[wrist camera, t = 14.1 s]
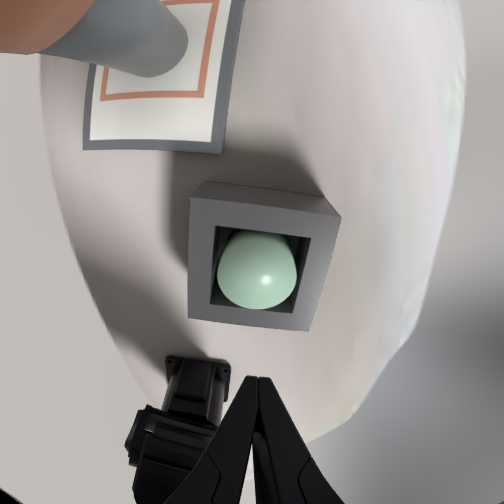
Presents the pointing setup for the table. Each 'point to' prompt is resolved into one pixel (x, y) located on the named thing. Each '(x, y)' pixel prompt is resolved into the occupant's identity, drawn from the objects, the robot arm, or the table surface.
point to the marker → (96, 32)
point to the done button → (256, 269)
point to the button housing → (268, 220)
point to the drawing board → (170, 89)
